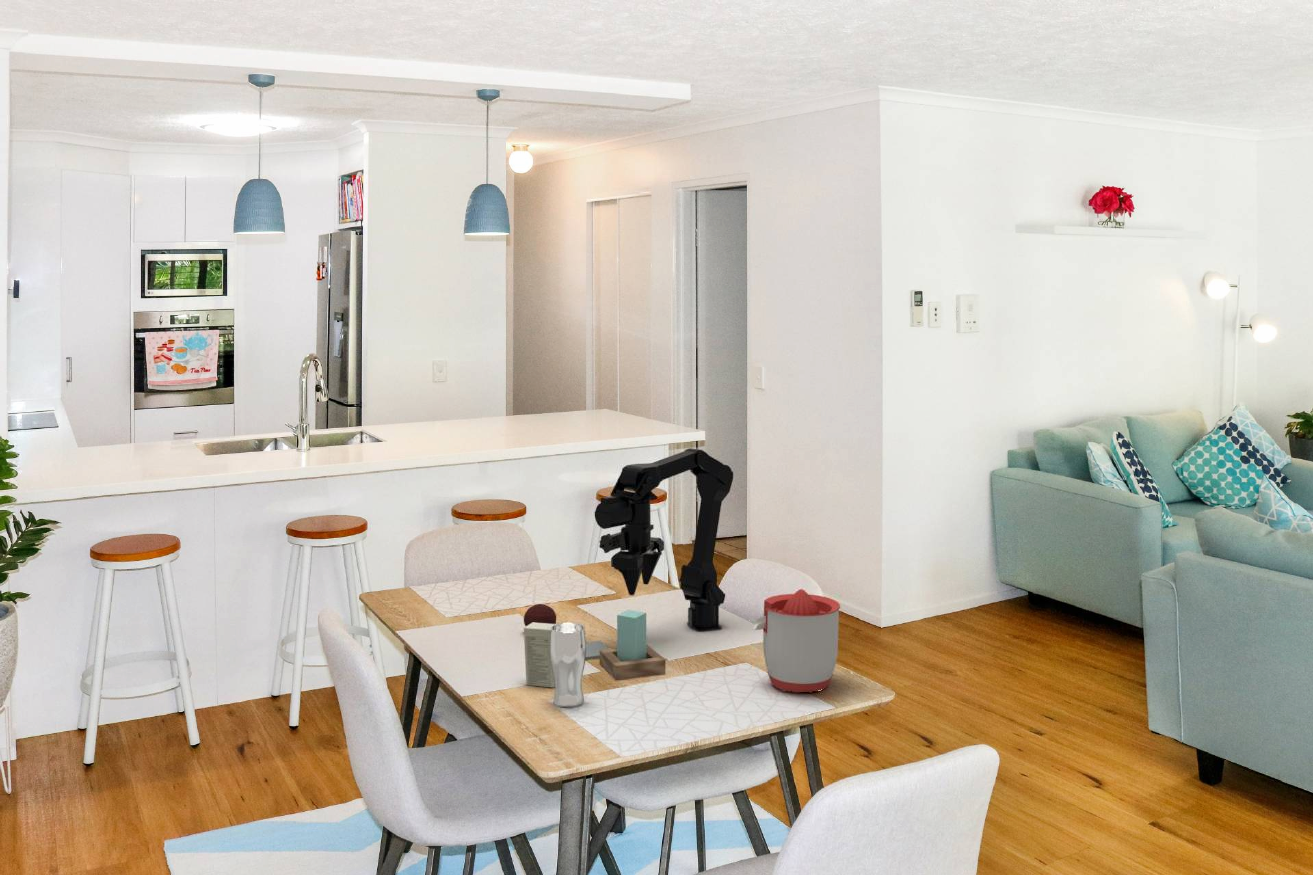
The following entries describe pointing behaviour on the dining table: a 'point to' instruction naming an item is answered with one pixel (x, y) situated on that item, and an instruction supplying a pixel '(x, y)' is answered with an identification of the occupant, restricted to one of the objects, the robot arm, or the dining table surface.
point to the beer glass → (568, 663)
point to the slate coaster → (594, 649)
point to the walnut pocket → (632, 664)
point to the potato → (540, 615)
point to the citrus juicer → (800, 640)
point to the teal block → (631, 636)
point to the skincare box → (538, 655)
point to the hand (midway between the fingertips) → (638, 589)
